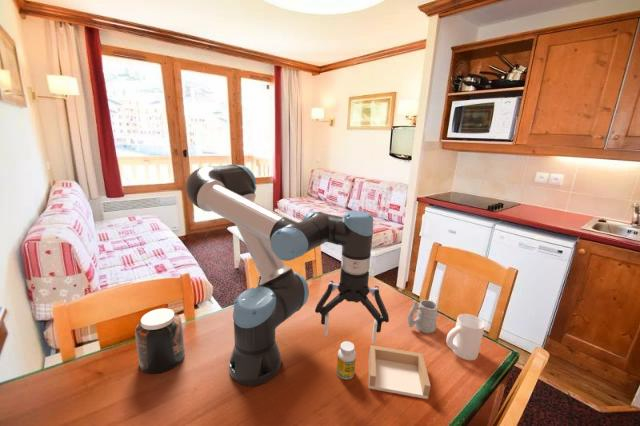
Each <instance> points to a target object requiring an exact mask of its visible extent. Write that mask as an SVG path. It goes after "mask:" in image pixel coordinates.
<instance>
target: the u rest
mask: <svg viewBox="0 0 640 426" xmlns="http://www.w3.org/2000/svg"><path fill="white" fill-rule="evenodd" d="M368 389H371V390H376V391H380V392H381V391H382V392H387V393H392V394H398V395H403V396H408V397H414V398H420V399H424V400H429V395H430V390H431V382H430V378H429V374H428V370H427V366H426V362H425V359H424V354H423V353H422V352H415V351H409V350H402V349H397V348H391V347H386V346H378V345H374V344H373V345H371V344H370V345H369V354H368Z"/></svg>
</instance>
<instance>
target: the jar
mask: <svg viewBox="0 0 640 426" xmlns="http://www.w3.org/2000/svg"><path fill="white" fill-rule="evenodd" d="M134 332H135V333H134V334H135V335H134V336H135V344H136V351H137V352H136V353H137V356H138V357H137V359H138V363H139V368H140V370H141V371H142V372H143V373H146V374H149V375H158V374H162V373H163V374H164V373H165V372H168V371H170V370H172V369H174V368H175V367H177V366H178V365H179V364H180V363H182V361H183V359H184V357H185V341H184V332H183V322H182V319H181V317H180V315H179V314H178V313H175V312H174V310H173V309H170V308H166V307H165V308H163V307H162V308H157V309H153V310H151V311H148V312H147V313H145V314H144V315H143V316H142V317H141V318H140V321H139V322H138V323H137V324H136V326H135V329H134Z"/></svg>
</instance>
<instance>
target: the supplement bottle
mask: <svg viewBox="0 0 640 426" xmlns="http://www.w3.org/2000/svg"><path fill="white" fill-rule="evenodd" d="M336 359H337V360H336V361H337V362H336V374H337V376H338V377H339V378H340V379H343V380H350V379H352V378H353V377H354V375H355V370H356V359H357V354H356V351H355V345H354V343H353V342H350V341H349V340H348V341H343V342H341V343H340V348H339V349H338V350H337V358H336Z"/></svg>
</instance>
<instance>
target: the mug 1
mask: <svg viewBox="0 0 640 426" xmlns="http://www.w3.org/2000/svg"><path fill="white" fill-rule="evenodd" d="M438 310H439V305H437V303H436V302H434V301H433V300H430V299H429V300H428V299H421V300H420V301H419V304H418V302H417V300H413V304H412V306H411V308H410V310H409V312H408V314H407V325H408V326H409V328H412V327H414V326H415V328H416V329H417V331H420V333H424V334H433V333H434V332H435V331H436V329H437V318H438V315H439V313H438ZM416 312H417V314H416ZM414 314H416V317H415V318H414Z"/></svg>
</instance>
